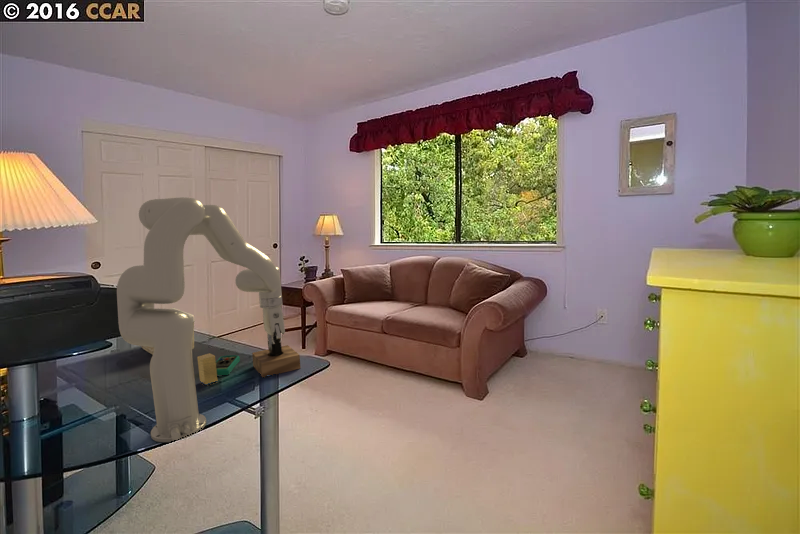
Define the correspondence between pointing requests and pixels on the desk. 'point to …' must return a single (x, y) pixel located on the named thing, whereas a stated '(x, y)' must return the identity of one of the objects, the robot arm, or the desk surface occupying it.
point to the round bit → (271, 345)
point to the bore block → (276, 361)
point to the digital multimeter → (226, 364)
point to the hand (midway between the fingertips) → (275, 351)
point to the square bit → (207, 368)
